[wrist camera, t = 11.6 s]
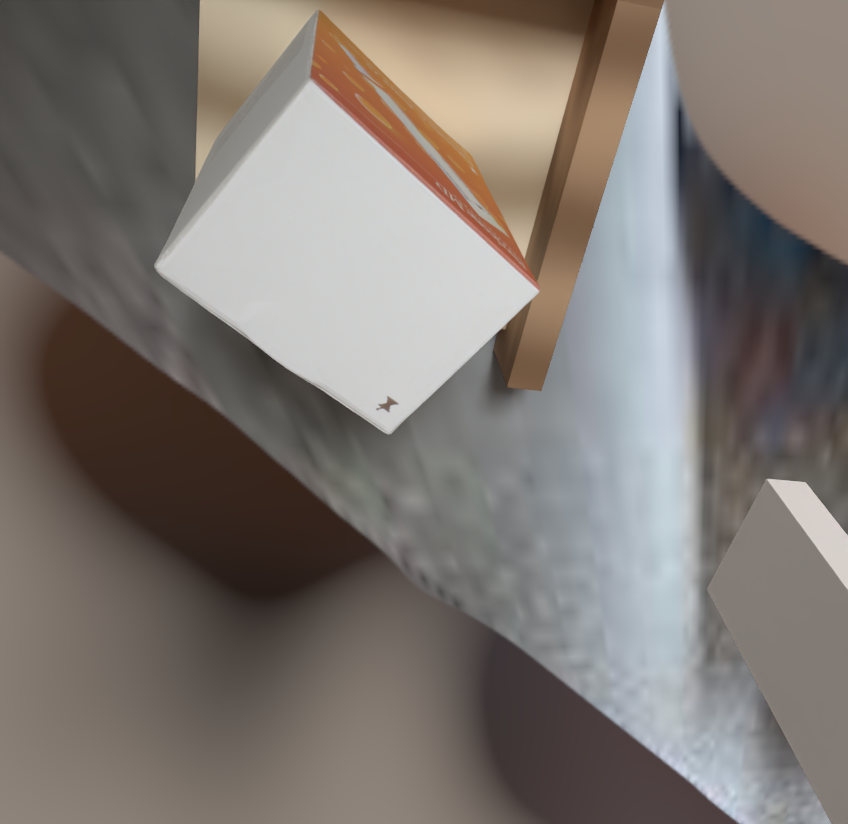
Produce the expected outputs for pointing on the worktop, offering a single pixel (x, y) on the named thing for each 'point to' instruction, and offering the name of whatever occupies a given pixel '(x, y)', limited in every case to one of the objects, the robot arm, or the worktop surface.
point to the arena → (476, 111)
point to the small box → (347, 233)
